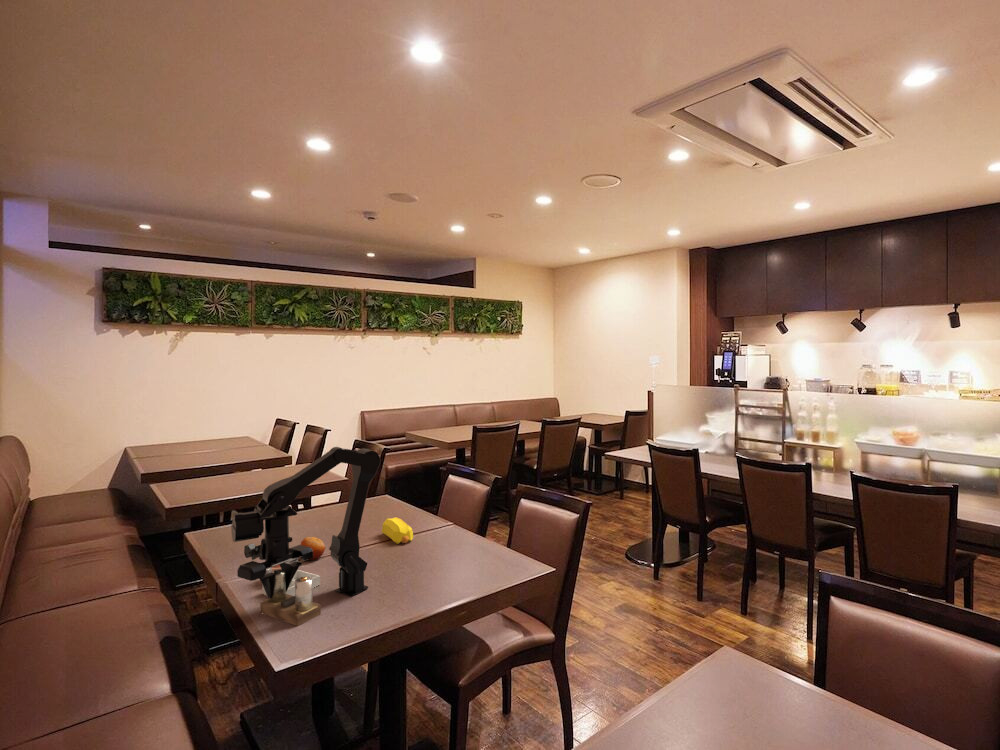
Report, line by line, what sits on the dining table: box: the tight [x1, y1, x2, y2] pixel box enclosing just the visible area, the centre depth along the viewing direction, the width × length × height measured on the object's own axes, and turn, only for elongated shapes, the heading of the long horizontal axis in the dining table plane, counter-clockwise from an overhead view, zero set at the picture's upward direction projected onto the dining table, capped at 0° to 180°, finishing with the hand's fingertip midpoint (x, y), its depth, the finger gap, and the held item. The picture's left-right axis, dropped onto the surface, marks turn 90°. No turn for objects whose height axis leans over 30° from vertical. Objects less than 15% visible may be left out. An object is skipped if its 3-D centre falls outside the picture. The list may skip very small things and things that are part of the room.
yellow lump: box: [381, 517, 414, 545], centre depth 195 cm, size 18×7×8 cm
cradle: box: [259, 594, 322, 627], centre depth 134 cm, size 15×7×4 cm, turn 60°
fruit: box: [299, 536, 326, 562], centre depth 174 cm, size 8×8×8 cm
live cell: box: [295, 577, 313, 612], centre depth 132 cm, size 4×4×8 cm
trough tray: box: [262, 569, 321, 596], centre depth 149 cm, size 9×12×3 cm
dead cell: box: [268, 569, 286, 603], centre depth 137 cm, size 4×4×8 cm
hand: (277, 594), depth 137 cm, fingers closed on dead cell, 4 cm apart
